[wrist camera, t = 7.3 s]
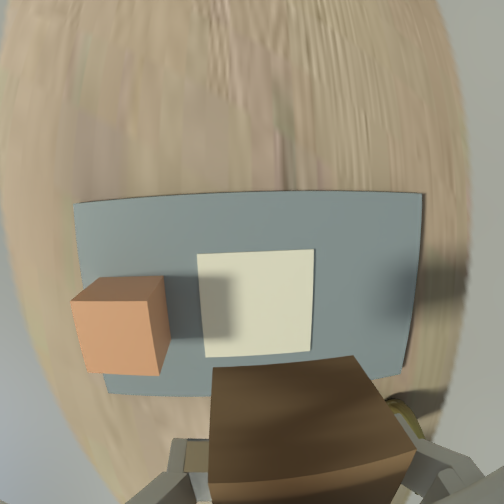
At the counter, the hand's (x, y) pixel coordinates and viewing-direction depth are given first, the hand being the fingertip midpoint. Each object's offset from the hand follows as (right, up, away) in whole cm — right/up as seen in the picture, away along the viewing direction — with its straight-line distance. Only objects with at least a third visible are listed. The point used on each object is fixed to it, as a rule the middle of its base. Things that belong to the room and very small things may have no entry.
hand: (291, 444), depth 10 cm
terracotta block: (-10, +3, +13) cm, 16 cm away
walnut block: (0, 0, +2) cm, 2 cm away
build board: (-1, +3, +14) cm, 15 cm away
